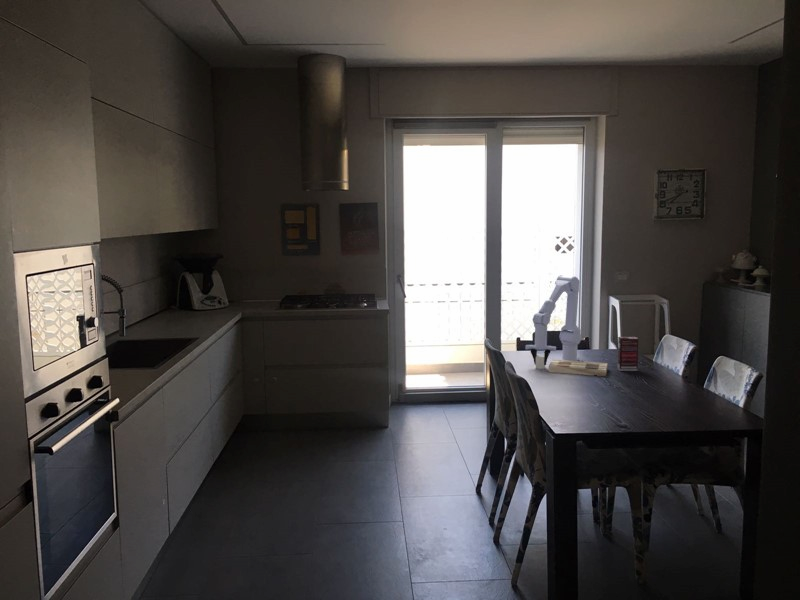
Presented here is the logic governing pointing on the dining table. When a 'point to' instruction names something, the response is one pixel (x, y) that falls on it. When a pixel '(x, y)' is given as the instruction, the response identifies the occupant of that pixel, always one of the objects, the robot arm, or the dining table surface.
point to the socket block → (578, 367)
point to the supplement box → (628, 353)
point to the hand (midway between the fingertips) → (540, 364)
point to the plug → (540, 361)
